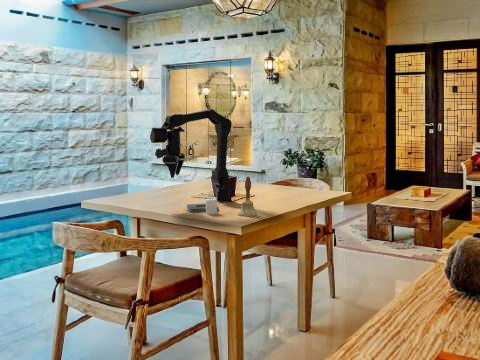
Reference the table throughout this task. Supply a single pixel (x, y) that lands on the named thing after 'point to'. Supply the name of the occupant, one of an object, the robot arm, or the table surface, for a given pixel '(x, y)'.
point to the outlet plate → (198, 207)
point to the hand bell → (247, 201)
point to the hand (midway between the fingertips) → (175, 176)
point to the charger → (211, 206)
